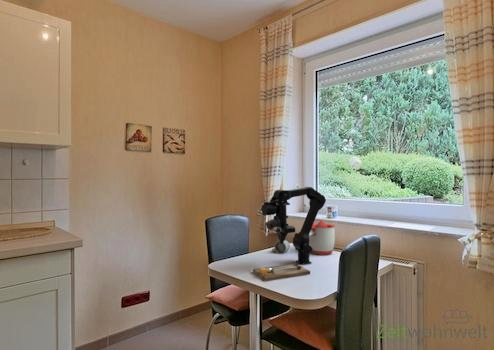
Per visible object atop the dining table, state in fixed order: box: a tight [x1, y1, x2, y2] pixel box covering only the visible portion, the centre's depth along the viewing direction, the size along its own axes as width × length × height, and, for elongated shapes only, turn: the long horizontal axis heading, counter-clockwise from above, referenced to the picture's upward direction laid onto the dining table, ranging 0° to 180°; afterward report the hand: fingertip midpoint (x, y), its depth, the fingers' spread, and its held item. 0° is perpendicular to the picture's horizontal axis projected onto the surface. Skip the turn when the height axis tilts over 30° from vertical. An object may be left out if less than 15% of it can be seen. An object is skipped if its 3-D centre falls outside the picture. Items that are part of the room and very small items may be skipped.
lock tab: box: [259, 267, 267, 274], centre depth 145 cm, size 3×2×2 cm
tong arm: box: [266, 263, 299, 273], centre depth 150 cm, size 2×17×2 cm, turn 113°
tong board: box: [252, 262, 311, 282], centre depth 150 cm, size 14×24×3 cm, turn 113°
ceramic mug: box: [271, 239, 290, 255], centre depth 191 cm, size 11×8×8 cm
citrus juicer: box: [309, 220, 336, 256], centre depth 188 cm, size 16×17×20 cm
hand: (281, 243), depth 161 cm, fingers closed
